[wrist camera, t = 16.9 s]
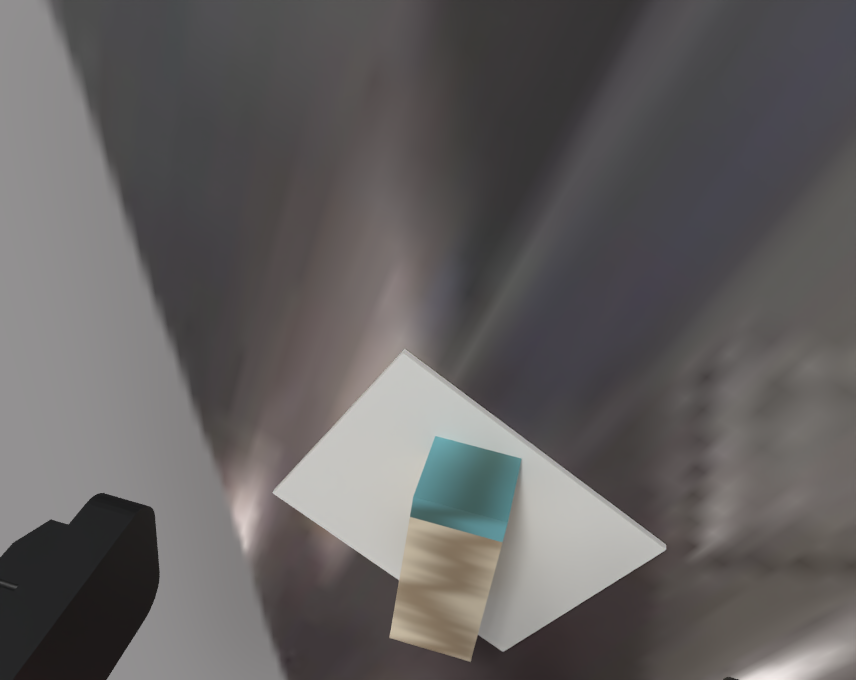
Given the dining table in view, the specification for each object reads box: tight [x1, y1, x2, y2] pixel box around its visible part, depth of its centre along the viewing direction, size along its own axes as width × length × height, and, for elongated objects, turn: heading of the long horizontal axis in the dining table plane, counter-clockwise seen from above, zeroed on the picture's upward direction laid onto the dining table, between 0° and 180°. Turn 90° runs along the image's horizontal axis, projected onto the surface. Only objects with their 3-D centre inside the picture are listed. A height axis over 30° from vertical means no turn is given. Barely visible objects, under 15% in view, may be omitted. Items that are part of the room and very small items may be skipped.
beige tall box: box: [390, 436, 522, 662], centre depth 47 cm, size 5×5×12 cm
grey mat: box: [273, 349, 666, 652], centre depth 49 cm, size 19×15×1 cm
